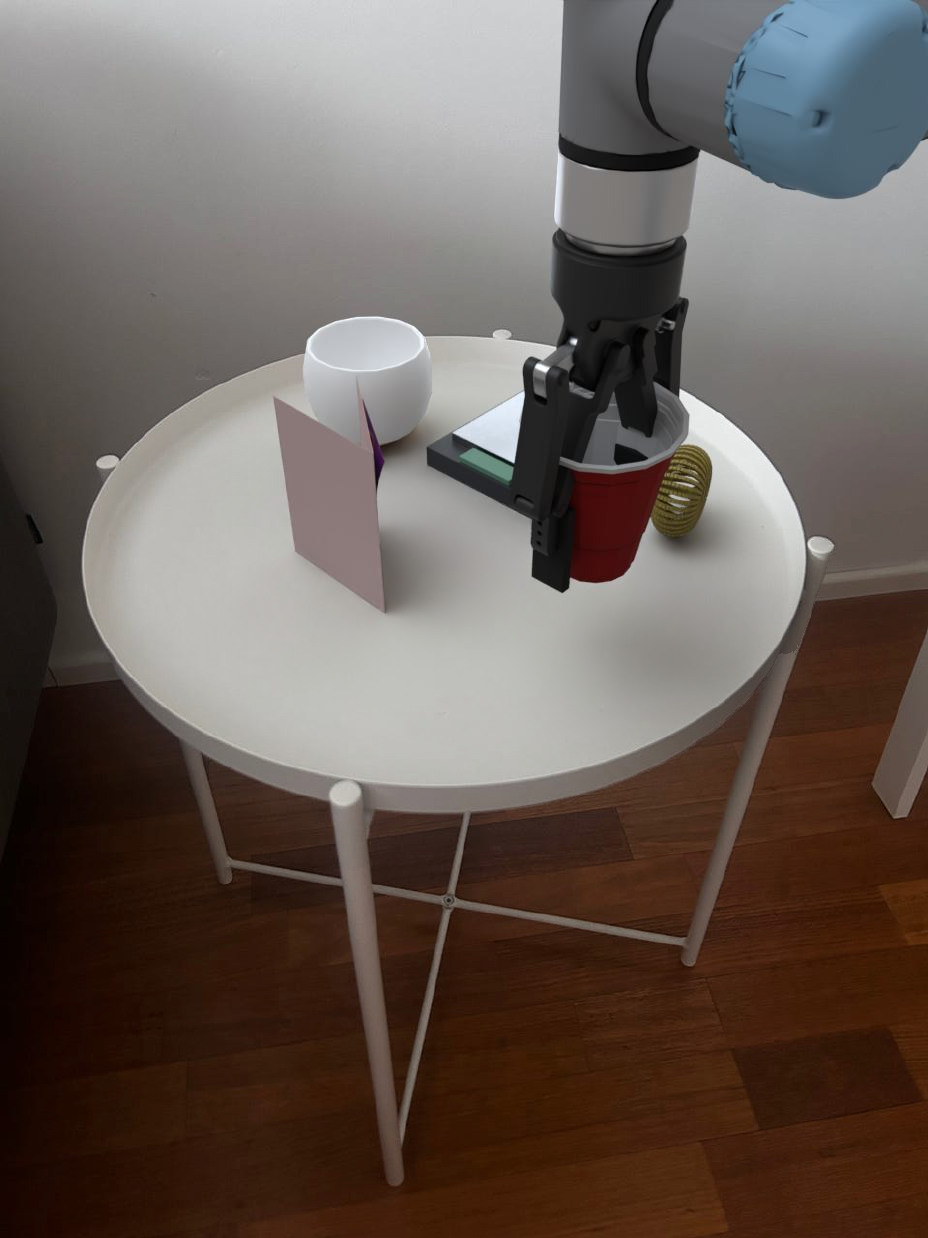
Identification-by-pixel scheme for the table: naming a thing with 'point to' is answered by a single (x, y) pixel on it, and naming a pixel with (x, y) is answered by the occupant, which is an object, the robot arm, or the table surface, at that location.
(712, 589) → the table surface
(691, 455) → the sculpture
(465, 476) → the scale
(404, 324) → the cup
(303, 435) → the greeting card
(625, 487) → the plastic cup
